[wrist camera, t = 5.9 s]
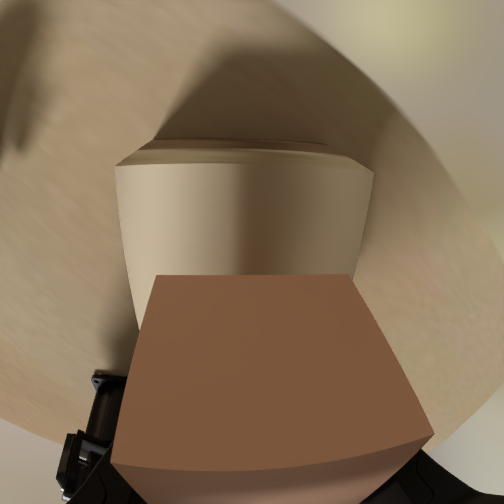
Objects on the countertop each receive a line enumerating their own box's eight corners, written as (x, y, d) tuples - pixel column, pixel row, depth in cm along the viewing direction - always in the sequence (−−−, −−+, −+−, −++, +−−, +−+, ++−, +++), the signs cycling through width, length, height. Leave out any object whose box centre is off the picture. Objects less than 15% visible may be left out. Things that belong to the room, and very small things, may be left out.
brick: (183, 420, 11) (180, 533, 7) (156, 274, 8) (110, 462, 3) (306, 415, 11) (330, 523, 7) (347, 274, 8) (434, 434, 4)
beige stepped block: (166, 311, 20) (153, 382, 15) (152, 139, 15) (114, 166, 9) (301, 310, 21) (323, 379, 16) (325, 144, 16) (374, 172, 10)
